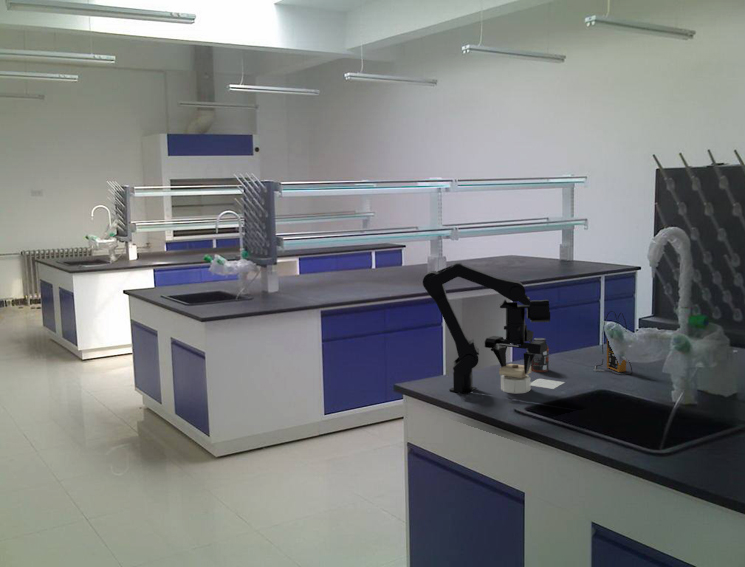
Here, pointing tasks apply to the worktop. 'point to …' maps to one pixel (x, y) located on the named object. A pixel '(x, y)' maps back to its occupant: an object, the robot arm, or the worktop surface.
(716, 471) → the worktop surface
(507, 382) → the bowl
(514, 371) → the lid
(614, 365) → the multimeter
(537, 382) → the mat
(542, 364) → the supplement bottle
